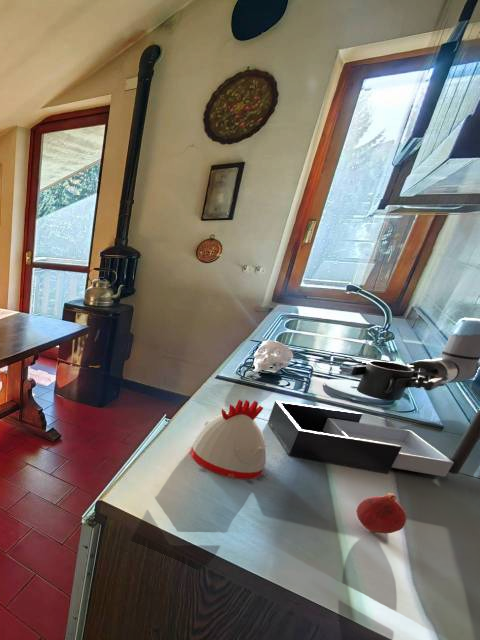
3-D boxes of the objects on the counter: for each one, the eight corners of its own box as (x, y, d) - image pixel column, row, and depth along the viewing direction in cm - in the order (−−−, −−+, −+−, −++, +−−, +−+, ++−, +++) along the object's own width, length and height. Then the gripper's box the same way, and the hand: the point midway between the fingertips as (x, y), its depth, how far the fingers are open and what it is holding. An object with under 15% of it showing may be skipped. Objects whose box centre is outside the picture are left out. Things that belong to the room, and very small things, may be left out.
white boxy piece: (417, 445, 93) (448, 388, 87) (461, 479, 81) (500, 416, 75) (322, 430, 99) (345, 376, 94) (349, 460, 87) (377, 399, 81)
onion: (391, 549, 64) (413, 511, 61) (345, 528, 68) (364, 492, 65) (398, 534, 67) (419, 497, 64) (354, 515, 72) (372, 479, 69)
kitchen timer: (278, 479, 82) (302, 416, 76) (213, 479, 81) (233, 415, 76) (235, 444, 94) (254, 387, 89) (179, 443, 94) (194, 387, 88)
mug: (361, 398, 112) (374, 369, 109) (353, 385, 121) (365, 358, 118) (407, 407, 107) (422, 376, 104) (395, 393, 117) (409, 364, 113)
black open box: (350, 436, 99) (361, 412, 96) (387, 474, 84) (402, 447, 81) (267, 423, 105) (275, 400, 102) (288, 456, 90) (298, 430, 87)
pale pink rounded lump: (240, 366, 143) (257, 336, 142) (250, 378, 151) (265, 351, 151) (273, 374, 134) (291, 343, 134) (281, 387, 143) (298, 358, 143)
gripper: (475, 398, 108) (417, 405, 103) (380, 371, 128) (328, 375, 123) (489, 373, 105) (430, 379, 100) (390, 349, 125) (337, 353, 120)
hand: (374, 377), depth 112 cm, fingers closed on mug, 10 cm apart
